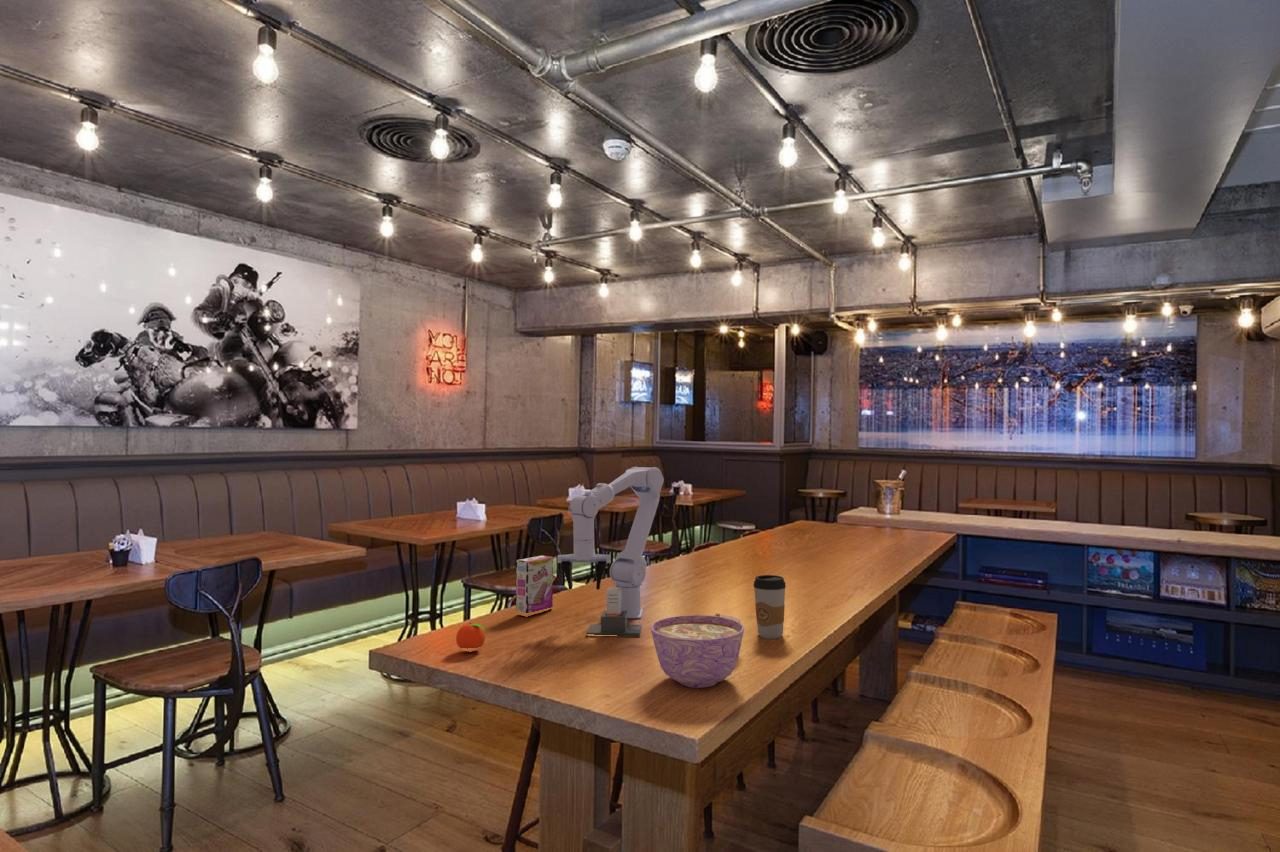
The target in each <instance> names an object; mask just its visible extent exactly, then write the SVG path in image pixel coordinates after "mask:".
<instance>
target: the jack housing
mask: <svg viewBox="0 0 1280 852" xmlns="http://www.w3.org/2000/svg"><path fill="white" fill-rule="evenodd" d="M606 615H607V610H603V611H602V614H601V615H600V624H589V627H588V629H587V630H586V632H585V633H586V634H594V635H617V636H636V637H635V638H638V637H639V638H640V636H641V633H642V630H641V629H643V626H642V625H643V624H628V618H627V611H622V616H619V615H607V616H606Z"/></svg>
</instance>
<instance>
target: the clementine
mask: <svg viewBox="0 0 1280 852" xmlns="http://www.w3.org/2000/svg"><path fill="white" fill-rule="evenodd" d="M485 633H486V634H485ZM486 635H488V634H487V630H486V629H485V627H483V626H482V625H480V624H478V623H475V622H474V623H473V622H469V623H466V624H464V625H462V626H461V627H460V628H459V629H458V631H457V632H456V635H455V636H456V637H455V640H456V644H457V647H458V648H459V647H460V648H467V649H468V648H478V647H481V646H482V647H483V645H484V643H485V639H486ZM482 647H481V648H482ZM460 648H459V649H460Z"/></svg>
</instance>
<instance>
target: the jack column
mask: <svg viewBox="0 0 1280 852" xmlns="http://www.w3.org/2000/svg"><path fill="white" fill-rule="evenodd" d="M606 611H607V615H619V616H622V600H621V587H616V586H614V587H613V586H612V587H611V586H609V587H607V588H606ZM607 615H606V616H607Z"/></svg>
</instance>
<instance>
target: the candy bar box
mask: <svg viewBox="0 0 1280 852" xmlns="http://www.w3.org/2000/svg"><path fill="white" fill-rule="evenodd" d="M553 559H554V558H553V556H550V555H537V556H532V557H526V558H521V559H516V561H515V563H516V567H515V568H516V570H515V571H516V572H515V573H516V575H515V576H516V578H515V579H516V583H515V585H516V590H515V593H516V595H515V596H516V597H515V598H516V599H515V603H516V604H515V606H516V607H515V608H516V610H515V612H516V611H521V612H523V613H531V612H535V611H539V610H543V609H547V608H551V607H553V605H554V604H553V603H554V602H553V598H554V597H553V594H554V593H553V586H554V585H553V584H554V583H553V579H554V578H553V577H554V575H553V574H554V573H553V572H554V571H553V570H554V560H553Z"/></svg>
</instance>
